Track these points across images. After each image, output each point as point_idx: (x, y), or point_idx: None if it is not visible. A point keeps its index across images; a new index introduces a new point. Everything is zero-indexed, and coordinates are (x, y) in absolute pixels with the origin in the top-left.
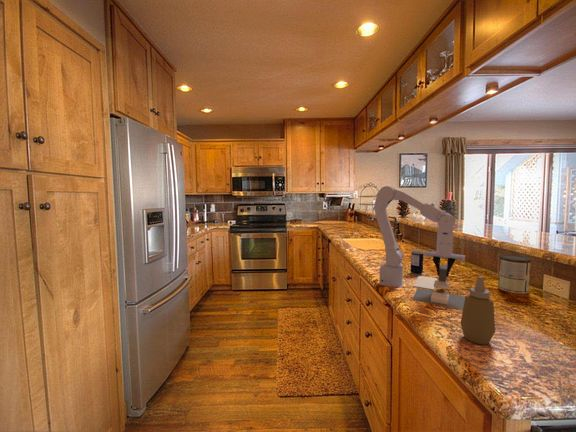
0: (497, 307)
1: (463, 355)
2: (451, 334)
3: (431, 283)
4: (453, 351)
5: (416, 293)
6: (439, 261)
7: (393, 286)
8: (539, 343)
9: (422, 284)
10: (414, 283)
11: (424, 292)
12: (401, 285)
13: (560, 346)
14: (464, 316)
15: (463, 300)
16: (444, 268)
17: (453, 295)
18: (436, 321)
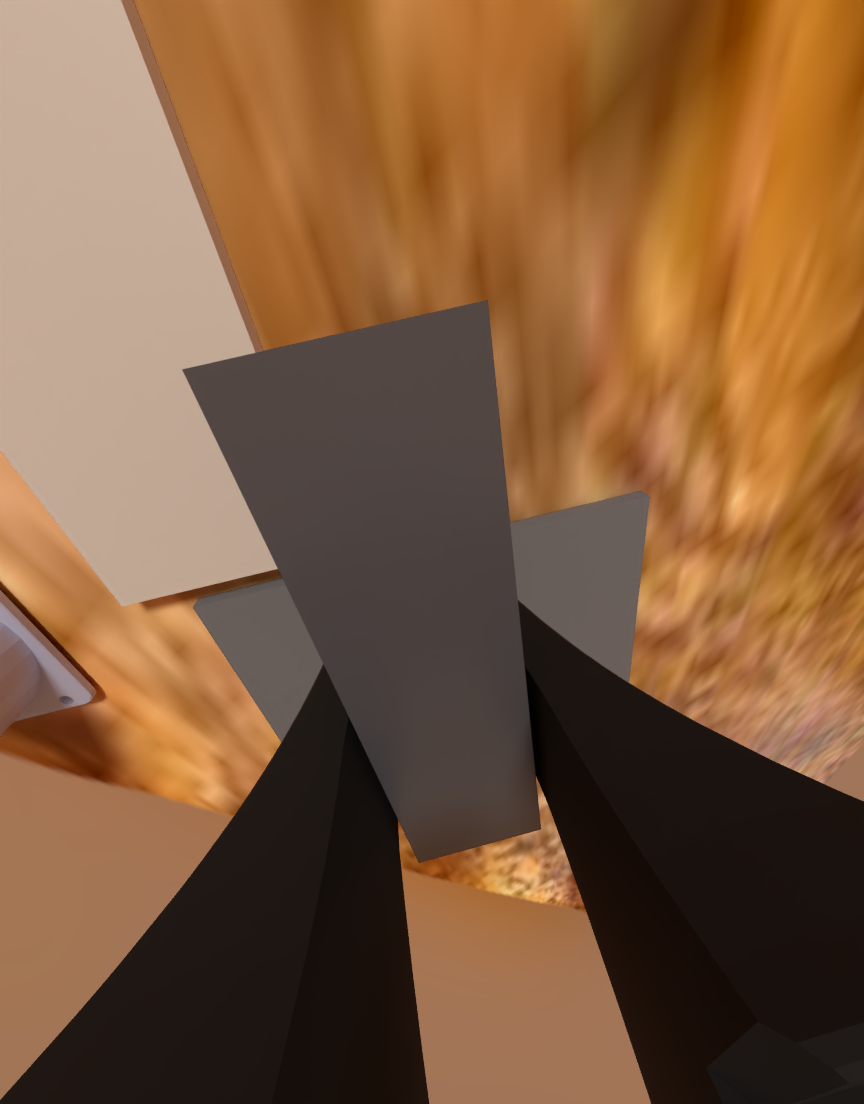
0: (787, 528)
1: (582, 901)
2: (550, 867)
3: (187, 341)
4: (561, 905)
5: (276, 716)
6: (414, 1093)
7: (24, 718)
8: (793, 758)
9: (147, 488)
10: (61, 527)
11: (305, 658)
12: (33, 653)
13: (850, 736)
14: None
15: (589, 605)
16: (493, 797)
17: (515, 556)
18: (494, 846)
